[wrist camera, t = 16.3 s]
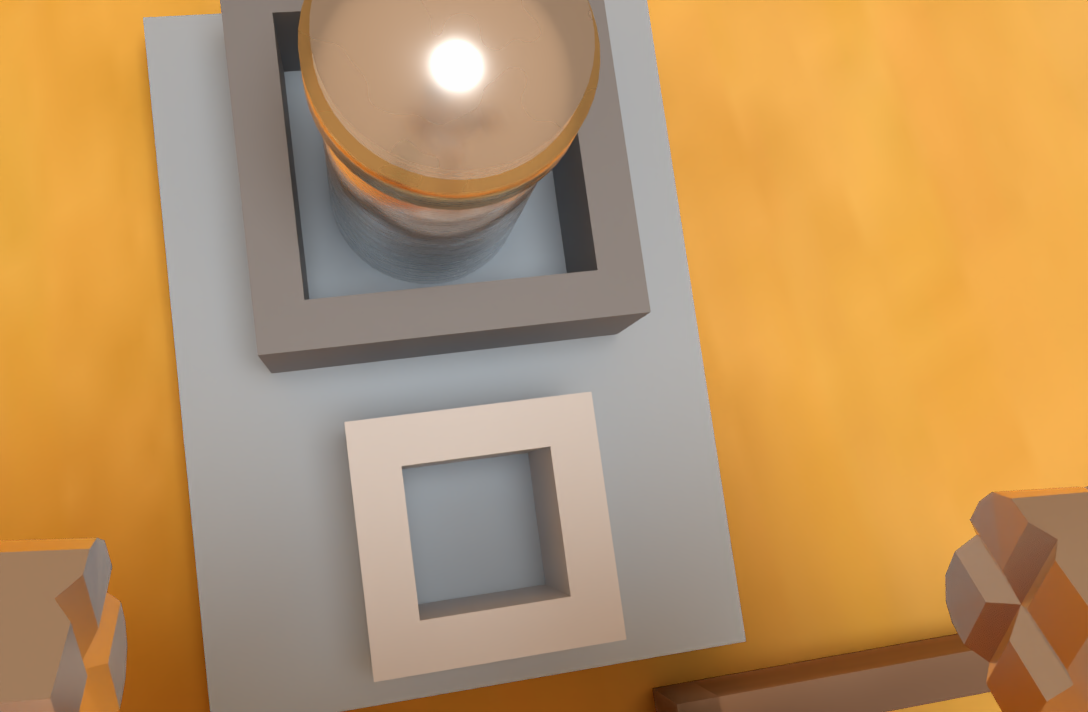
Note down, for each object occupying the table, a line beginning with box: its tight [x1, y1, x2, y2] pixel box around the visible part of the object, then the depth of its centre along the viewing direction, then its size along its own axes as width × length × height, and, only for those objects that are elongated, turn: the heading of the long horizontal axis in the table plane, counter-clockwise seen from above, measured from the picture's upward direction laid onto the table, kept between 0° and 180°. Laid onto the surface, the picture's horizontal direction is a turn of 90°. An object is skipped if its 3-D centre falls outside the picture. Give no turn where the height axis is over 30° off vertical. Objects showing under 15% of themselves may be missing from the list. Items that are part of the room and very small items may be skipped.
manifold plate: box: [143, 0, 746, 712], centre depth 23 cm, size 16×12×4 cm
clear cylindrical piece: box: [298, 0, 600, 284], centre depth 20 cm, size 5×5×8 cm
